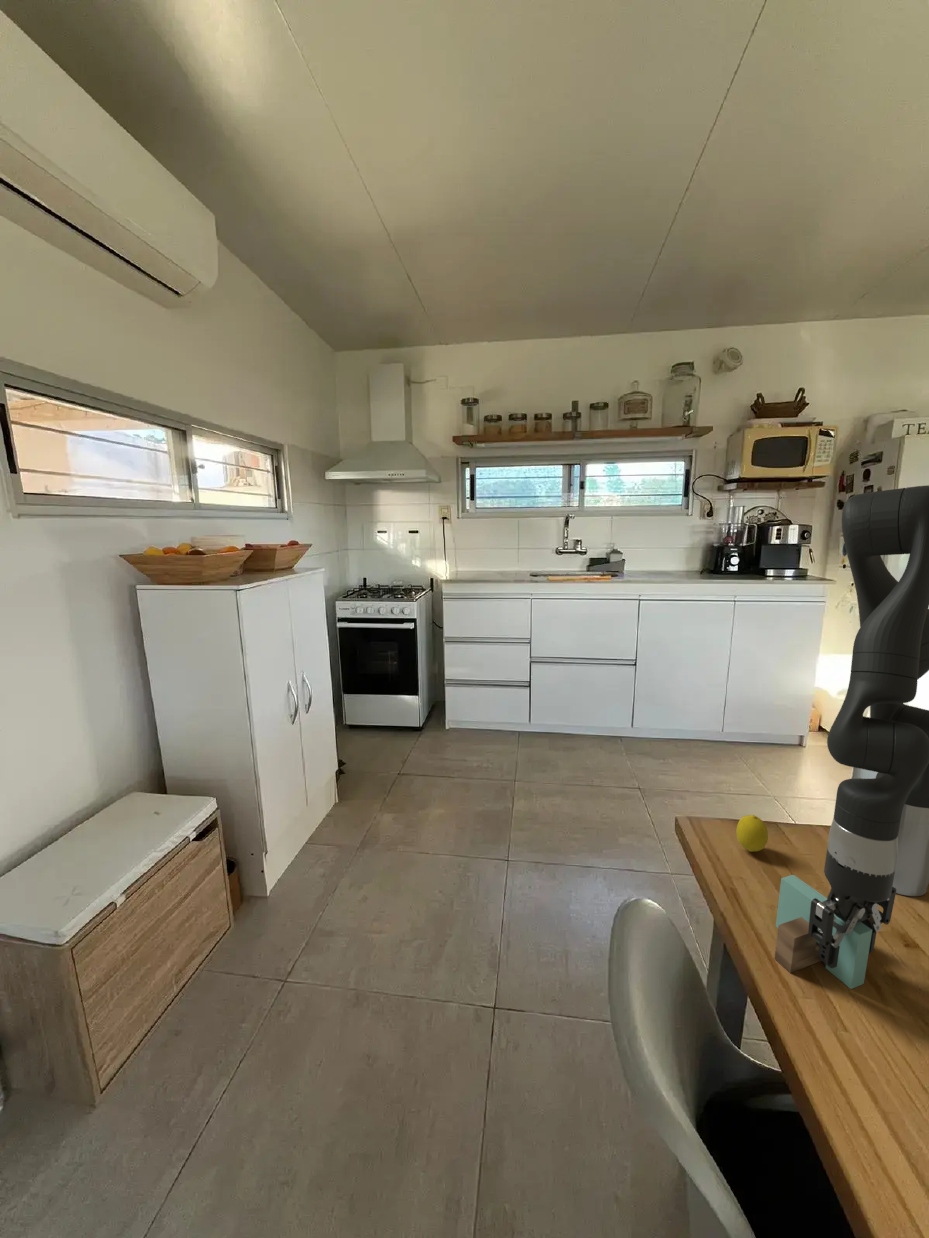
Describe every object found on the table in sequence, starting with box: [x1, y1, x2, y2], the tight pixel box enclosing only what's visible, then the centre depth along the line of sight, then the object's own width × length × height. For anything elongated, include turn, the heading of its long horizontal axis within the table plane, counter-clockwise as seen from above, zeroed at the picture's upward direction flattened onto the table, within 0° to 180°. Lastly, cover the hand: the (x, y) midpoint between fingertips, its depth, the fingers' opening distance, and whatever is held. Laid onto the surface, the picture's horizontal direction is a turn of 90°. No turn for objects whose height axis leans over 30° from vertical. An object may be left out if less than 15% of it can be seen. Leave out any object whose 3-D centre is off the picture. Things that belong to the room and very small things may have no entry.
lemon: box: [735, 814, 769, 853], centre depth 100 cm, size 6×6×8 cm
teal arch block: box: [775, 874, 872, 990], centre depth 76 cm, size 12×3×9 cm, turn 18°
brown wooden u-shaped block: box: [774, 917, 822, 974], centre depth 77 cm, size 14×3×6 cm, turn 108°
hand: (845, 955), depth 73 cm, fingers open, 7 cm apart
